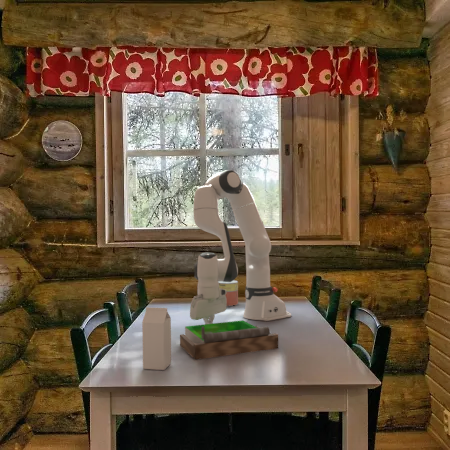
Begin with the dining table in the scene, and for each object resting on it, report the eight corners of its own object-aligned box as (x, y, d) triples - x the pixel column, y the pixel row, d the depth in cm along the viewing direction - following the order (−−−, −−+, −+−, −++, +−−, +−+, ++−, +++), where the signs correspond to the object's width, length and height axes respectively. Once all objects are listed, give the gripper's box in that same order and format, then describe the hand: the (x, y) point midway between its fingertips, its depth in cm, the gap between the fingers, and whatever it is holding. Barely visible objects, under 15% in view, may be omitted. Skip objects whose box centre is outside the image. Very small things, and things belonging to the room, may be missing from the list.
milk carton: (164, 370, 144) (163, 310, 144) (142, 369, 146) (141, 309, 145) (171, 363, 151) (170, 305, 151) (150, 362, 153) (150, 305, 152)
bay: (256, 335, 183) (256, 309, 183) (279, 348, 166) (278, 319, 166) (180, 345, 171) (179, 317, 171) (195, 360, 154) (195, 329, 154)
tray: (206, 357, 158) (206, 343, 158) (185, 339, 181) (185, 326, 181) (271, 348, 168) (271, 335, 167) (243, 332, 191) (243, 320, 191)
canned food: (213, 303, 248) (213, 280, 248) (232, 301, 253) (232, 279, 253) (222, 307, 238) (222, 283, 238) (241, 305, 243) (241, 282, 242)
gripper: (198, 297, 178) (198, 333, 179) (228, 289, 195) (229, 322, 195) (185, 296, 182) (186, 330, 182) (216, 288, 198) (217, 320, 199)
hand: (208, 326), depth 189 cm, fingers closed
